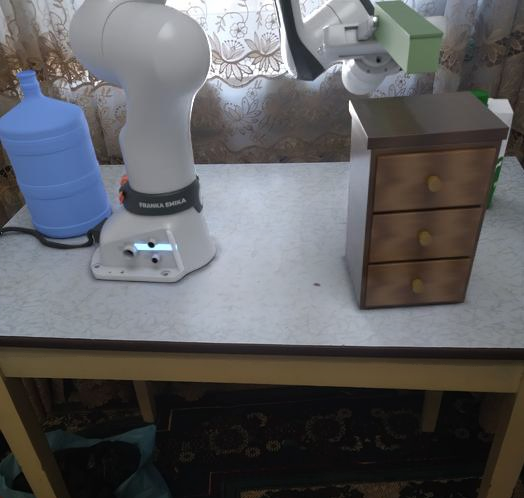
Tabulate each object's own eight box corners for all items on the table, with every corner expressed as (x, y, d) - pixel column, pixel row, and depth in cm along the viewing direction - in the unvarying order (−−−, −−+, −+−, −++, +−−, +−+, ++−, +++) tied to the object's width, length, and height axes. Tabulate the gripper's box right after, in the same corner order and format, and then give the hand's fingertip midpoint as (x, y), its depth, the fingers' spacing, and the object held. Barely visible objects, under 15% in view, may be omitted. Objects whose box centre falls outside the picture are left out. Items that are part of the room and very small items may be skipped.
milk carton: (443, 189, 109) (461, 85, 95) (489, 191, 107) (514, 85, 94) (445, 209, 102) (465, 100, 89) (494, 211, 100) (522, 100, 87)
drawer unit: (357, 316, 79) (370, 143, 62) (342, 257, 92) (349, 99, 74) (471, 309, 79) (515, 132, 61) (440, 251, 91) (469, 90, 74)
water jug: (119, 228, 105) (77, 75, 86) (38, 247, 101) (-23, 92, 83) (106, 197, 116) (66, 56, 97) (33, 214, 112) (-23, 70, 94)
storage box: (405, 74, 68) (409, 35, 65) (372, 34, 86) (374, 1, 83) (438, 72, 68) (443, 32, 65) (397, 32, 86) (400, -1, 83)
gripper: (316, 36, 94) (324, 2, 81) (430, 27, 94) (457, -9, 80) (317, 74, 96) (325, 47, 82) (430, 65, 95) (457, 36, 81)
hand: (392, 19), depth 81 cm, fingers closed on storage box, 4 cm apart
